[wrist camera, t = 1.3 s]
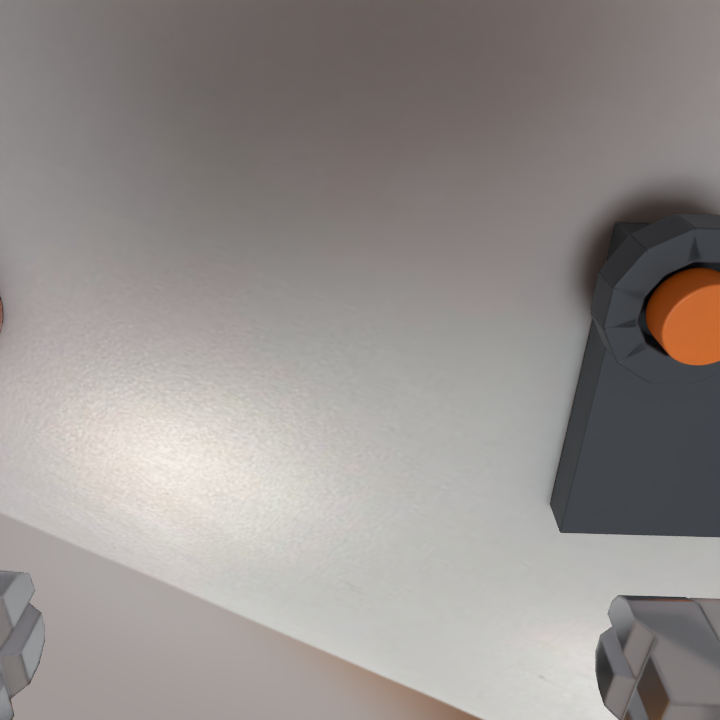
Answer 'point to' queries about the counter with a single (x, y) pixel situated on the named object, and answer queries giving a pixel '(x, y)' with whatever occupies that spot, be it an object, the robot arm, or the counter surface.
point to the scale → (643, 400)
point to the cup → (1, 315)
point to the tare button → (687, 316)
